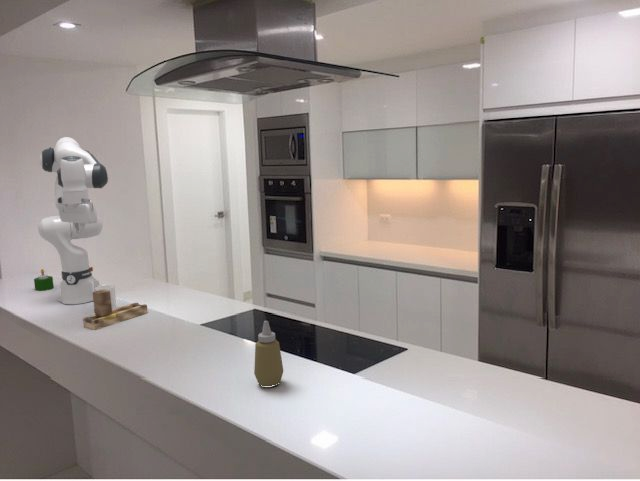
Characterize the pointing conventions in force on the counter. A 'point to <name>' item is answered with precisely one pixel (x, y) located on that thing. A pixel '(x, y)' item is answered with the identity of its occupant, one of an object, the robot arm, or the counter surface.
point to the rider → (102, 303)
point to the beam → (115, 316)
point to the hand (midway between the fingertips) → (80, 234)
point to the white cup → (112, 293)
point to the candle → (43, 282)
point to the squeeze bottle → (268, 358)
